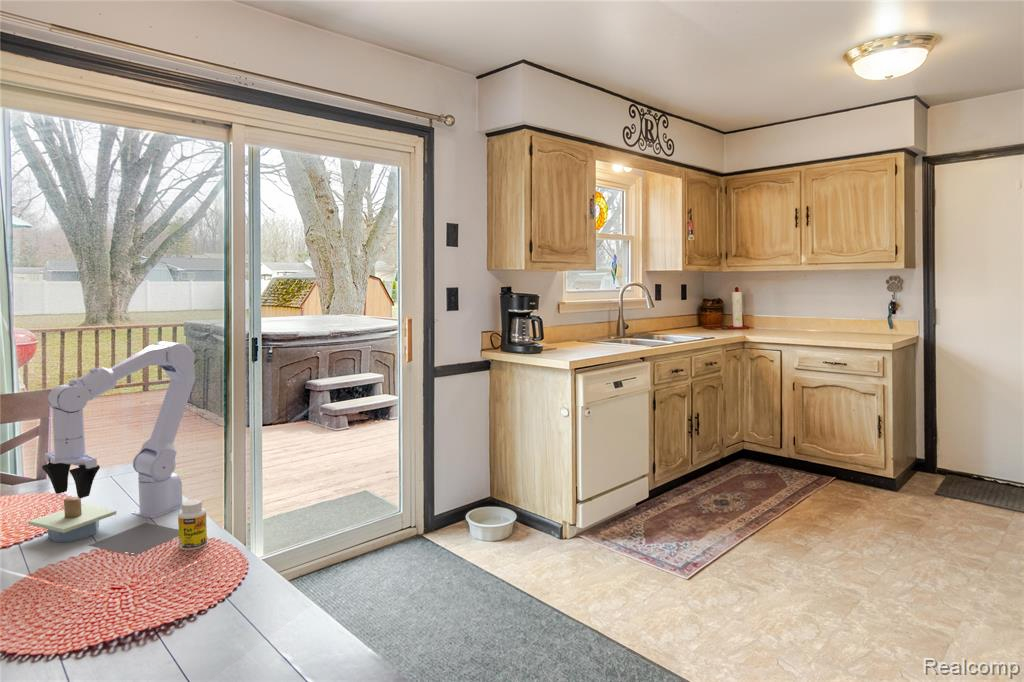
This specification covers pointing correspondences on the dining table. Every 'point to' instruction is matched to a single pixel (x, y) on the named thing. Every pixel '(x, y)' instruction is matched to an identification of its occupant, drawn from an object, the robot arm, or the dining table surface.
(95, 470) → the robot arm
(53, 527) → the lid
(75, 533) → the bowl
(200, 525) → the supplement bottle
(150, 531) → the mat
